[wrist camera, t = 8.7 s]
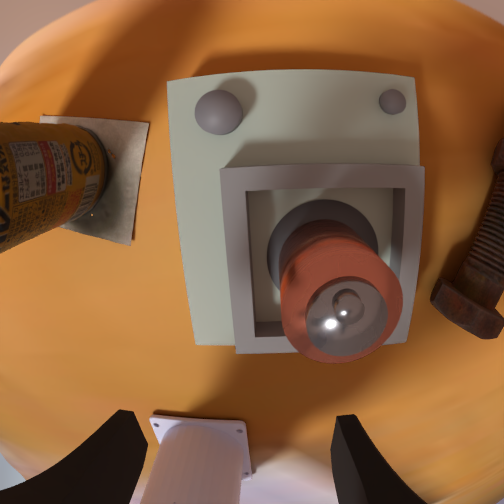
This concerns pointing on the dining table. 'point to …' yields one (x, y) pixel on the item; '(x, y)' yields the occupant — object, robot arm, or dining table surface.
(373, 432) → the dining table surface
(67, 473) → the robot arm
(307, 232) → the orange short cylinder
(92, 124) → the yellow metal cylinder
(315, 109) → the button control panel
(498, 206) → the bolt
